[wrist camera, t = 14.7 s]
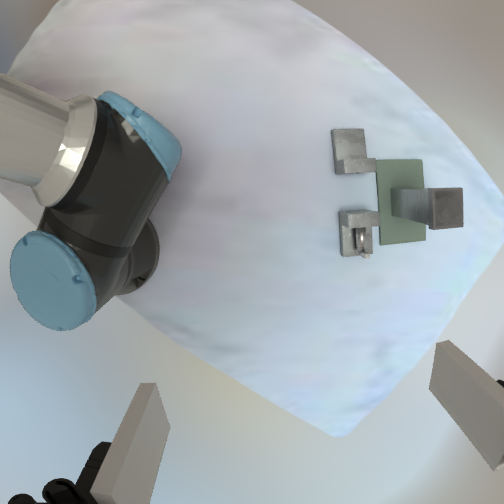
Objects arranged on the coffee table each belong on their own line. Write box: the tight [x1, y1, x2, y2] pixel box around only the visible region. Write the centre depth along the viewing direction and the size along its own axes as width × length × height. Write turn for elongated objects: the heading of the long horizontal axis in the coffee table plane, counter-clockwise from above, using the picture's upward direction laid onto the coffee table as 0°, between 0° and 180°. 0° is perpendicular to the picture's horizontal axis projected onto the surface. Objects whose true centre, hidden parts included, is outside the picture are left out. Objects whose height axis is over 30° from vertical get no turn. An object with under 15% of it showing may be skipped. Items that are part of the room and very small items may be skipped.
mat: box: [376, 160, 426, 245], centre depth 50 cm, size 9×14×1 cm, turn 6°
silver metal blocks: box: [331, 129, 380, 259], centre depth 47 cm, size 5×20×6 cm, turn 6°
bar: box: [390, 188, 463, 230], centre depth 43 cm, size 5×5×14 cm
